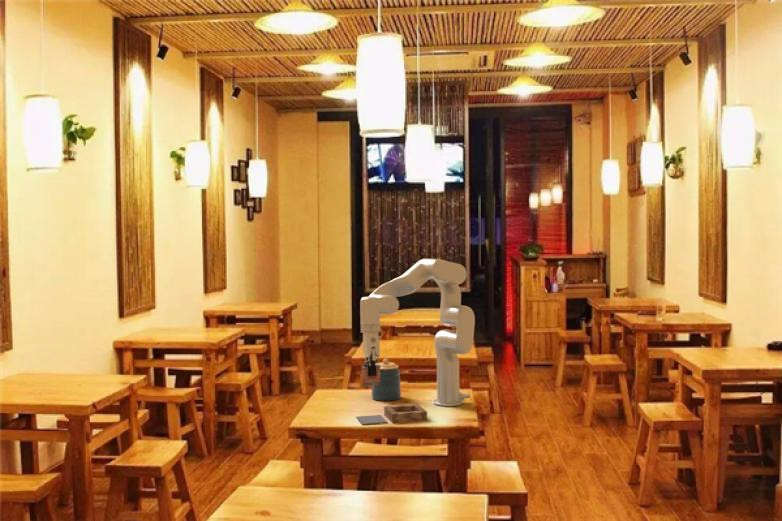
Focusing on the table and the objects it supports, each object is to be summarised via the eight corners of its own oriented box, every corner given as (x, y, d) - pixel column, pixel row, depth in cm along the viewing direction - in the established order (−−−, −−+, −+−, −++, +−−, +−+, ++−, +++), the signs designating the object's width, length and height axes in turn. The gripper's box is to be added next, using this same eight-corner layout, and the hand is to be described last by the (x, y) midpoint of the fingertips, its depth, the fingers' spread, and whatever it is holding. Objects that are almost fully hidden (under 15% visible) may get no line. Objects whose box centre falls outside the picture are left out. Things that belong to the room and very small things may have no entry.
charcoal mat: (380, 416, 335) (380, 414, 335) (387, 423, 323) (387, 421, 323) (356, 418, 332) (356, 416, 332) (362, 425, 321) (362, 423, 321)
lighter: (363, 386, 324) (363, 361, 323) (360, 385, 327) (359, 360, 326) (382, 384, 327) (381, 359, 327) (378, 383, 330) (378, 358, 330)
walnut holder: (417, 412, 340) (417, 404, 340) (427, 420, 327) (427, 411, 327) (384, 414, 337) (384, 406, 337) (392, 423, 323) (392, 414, 323)
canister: (375, 402, 360) (374, 361, 359) (368, 396, 373) (368, 357, 372) (404, 400, 363) (403, 360, 362) (397, 394, 376) (396, 355, 375)
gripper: (384, 330, 319) (385, 378, 320) (374, 325, 335) (375, 370, 336) (365, 331, 317) (366, 379, 318) (356, 326, 333) (357, 371, 334)
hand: (371, 374), depth 327 cm, fingers closed on lighter, 3 cm apart
